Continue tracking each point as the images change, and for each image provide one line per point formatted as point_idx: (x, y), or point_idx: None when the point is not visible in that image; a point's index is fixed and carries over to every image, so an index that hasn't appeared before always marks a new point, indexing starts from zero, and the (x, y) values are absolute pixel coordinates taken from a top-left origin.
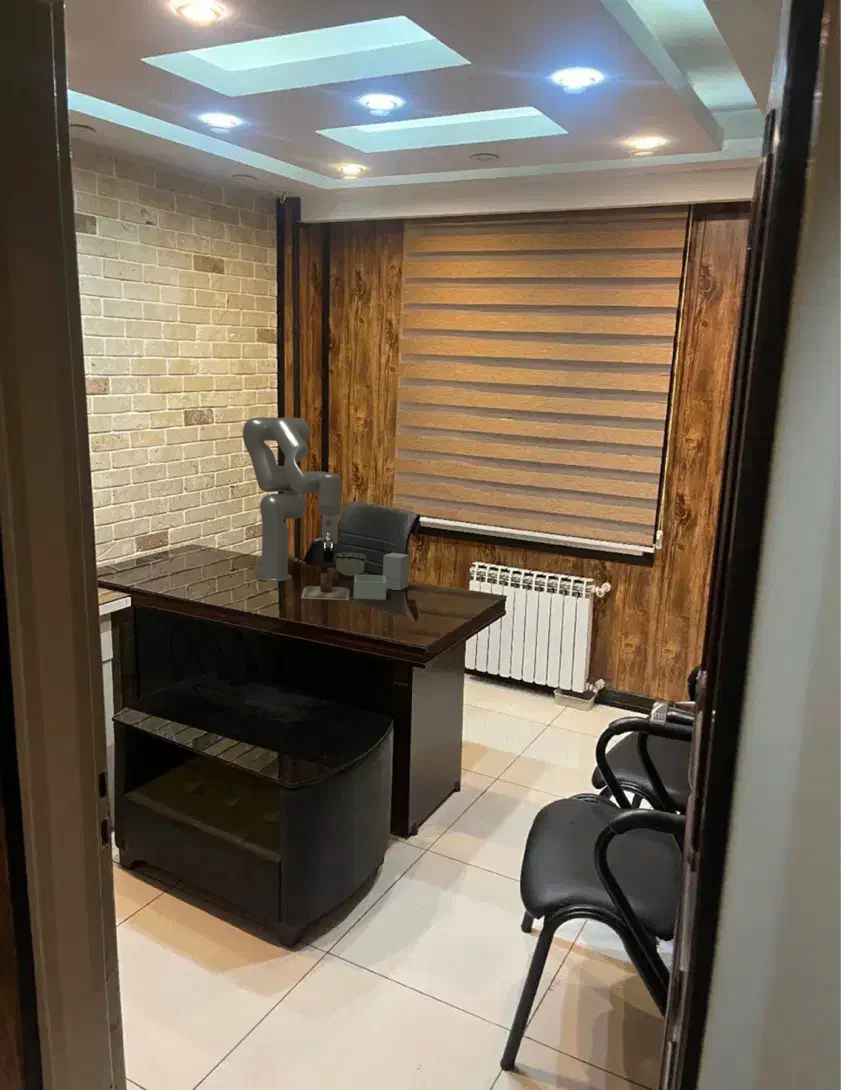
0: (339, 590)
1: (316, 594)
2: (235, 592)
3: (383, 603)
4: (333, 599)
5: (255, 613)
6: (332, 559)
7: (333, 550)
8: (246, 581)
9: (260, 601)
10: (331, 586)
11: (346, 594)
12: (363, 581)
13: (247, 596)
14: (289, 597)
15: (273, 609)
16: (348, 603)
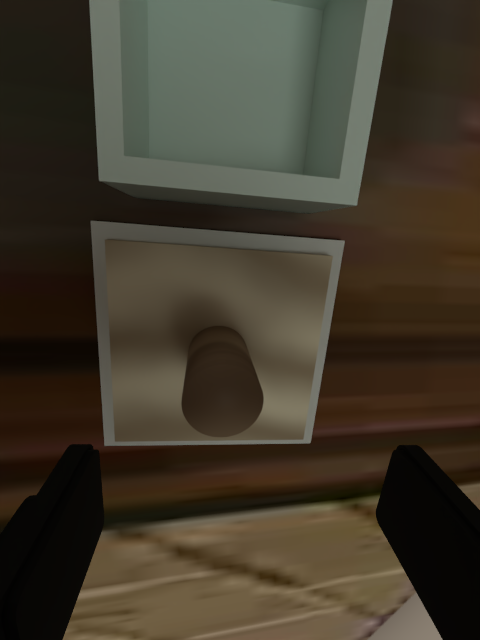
0: (193, 285)
1: (288, 393)
2: (210, 626)
3: None
4: (331, 315)
5: None
6: (436, 467)
7: (42, 526)
8: None
9: (328, 549)
10: (233, 338)
11: (229, 246)
12: (359, 124)
13: (262, 590)
14: (268, 477)
15: None
16: (370, 243)
